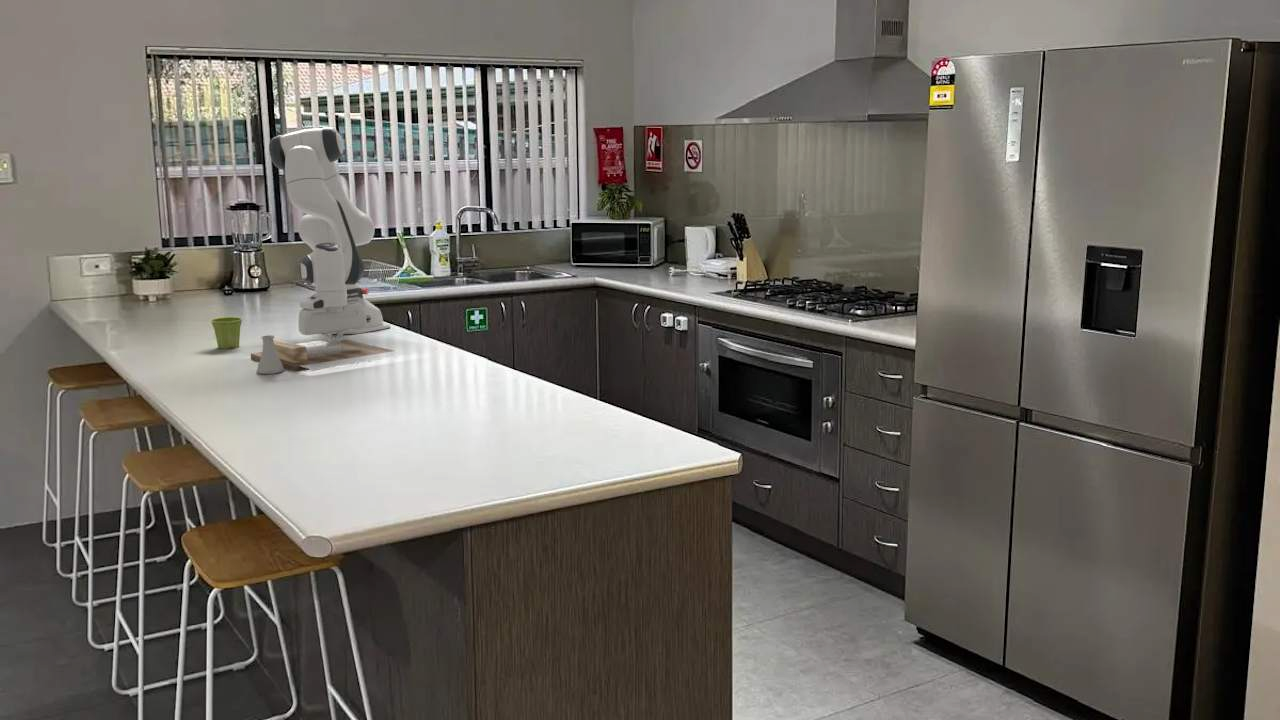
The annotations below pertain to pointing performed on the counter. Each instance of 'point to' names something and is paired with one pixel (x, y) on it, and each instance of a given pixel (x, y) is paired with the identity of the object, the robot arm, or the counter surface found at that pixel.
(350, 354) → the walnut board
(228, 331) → the plant pot
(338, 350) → the aluminium plate
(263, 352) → the flask
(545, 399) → the counter surface
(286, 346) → the bar
